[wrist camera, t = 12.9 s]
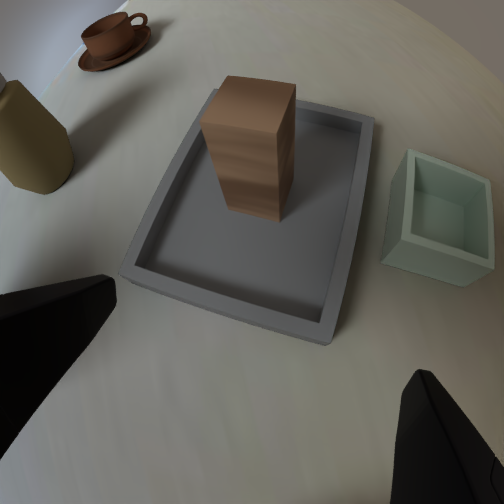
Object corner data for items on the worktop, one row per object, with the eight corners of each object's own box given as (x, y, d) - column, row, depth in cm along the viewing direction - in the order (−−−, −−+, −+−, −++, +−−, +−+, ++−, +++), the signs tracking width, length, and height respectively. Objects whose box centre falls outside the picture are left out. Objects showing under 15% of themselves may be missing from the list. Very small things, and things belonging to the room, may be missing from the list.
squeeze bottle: (19, 192, 28) (-76, 100, 11) (58, 138, 30) (-19, 35, 14) (52, 214, 26) (-68, 103, 9) (96, 151, 28) (7, 22, 12)
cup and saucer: (128, 30, 40) (117, 3, 34) (169, 39, 36) (158, 6, 30) (72, 71, 37) (56, 44, 31) (104, 85, 33) (86, 52, 28)
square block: (279, 222, 23) (276, 133, 14) (228, 209, 23) (199, 121, 15) (293, 178, 24) (295, 84, 15) (245, 167, 25) (227, 75, 16)
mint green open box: (463, 287, 20) (494, 270, 16) (380, 263, 22) (400, 239, 17) (465, 206, 23) (490, 180, 18) (391, 181, 24) (407, 148, 20)
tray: (325, 345, 20) (330, 343, 18) (132, 283, 23) (118, 274, 21) (369, 135, 26) (374, 118, 24) (218, 105, 29) (214, 88, 26)
